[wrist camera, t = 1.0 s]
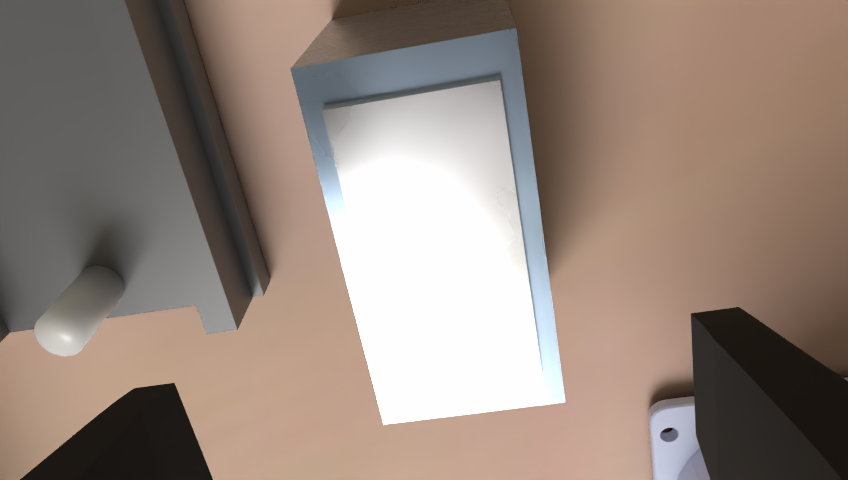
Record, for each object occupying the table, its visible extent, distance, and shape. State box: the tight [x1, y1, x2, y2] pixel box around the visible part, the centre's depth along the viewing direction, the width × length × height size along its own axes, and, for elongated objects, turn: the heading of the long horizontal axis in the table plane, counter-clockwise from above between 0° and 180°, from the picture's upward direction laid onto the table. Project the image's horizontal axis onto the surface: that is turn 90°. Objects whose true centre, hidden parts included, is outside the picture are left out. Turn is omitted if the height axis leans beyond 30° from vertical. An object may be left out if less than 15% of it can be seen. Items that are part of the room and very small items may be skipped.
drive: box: [291, 0, 565, 424], centre depth 17 cm, size 8×4×5 cm, turn 11°
